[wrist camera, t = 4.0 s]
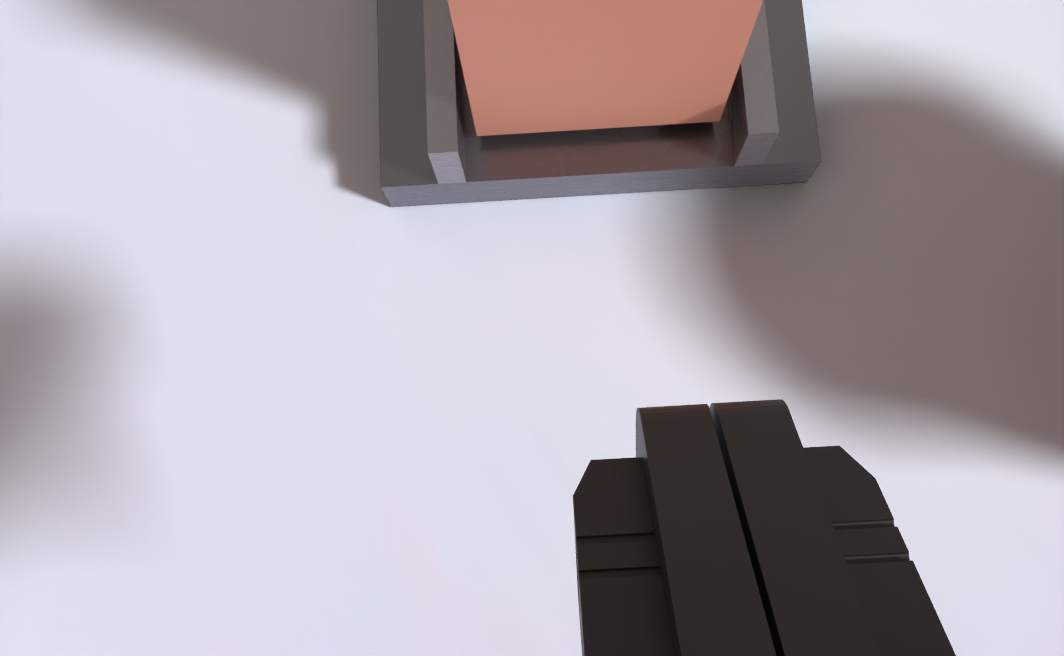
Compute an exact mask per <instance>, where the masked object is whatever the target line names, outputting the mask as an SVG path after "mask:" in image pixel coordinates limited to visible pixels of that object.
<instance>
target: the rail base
mask: <svg viewBox="0 0 1064 656" xmlns="http://www.w3.org/2000/svg"><path fill="white" fill-rule="evenodd" d="M377 16H378V66H379V116H380V166H381V189H382V190H383V192H384V194H385V196H386V198H387V200H388V202H389V204H390V206H391V207H401V206H418V205H434V204H451V203H468V202H485V201H502V200H518V199H535V198H552V197H569V196H586V195H602V194H619V193H636V192H653V191H670V190H686V189H703V188H720V187H737V186H753V185H770V184H787V183H804V182H807V181H808V180H809V178H810V177H811V175H812V174H813V172H814V171H815V169H816V168H817V166H818V165H819V163H820V162H821V158H820V150H819V142H818V133H817V125H816V116H815V108H814V100H813V91H812V83H811V74H810V66H809V58H808V49H807V41H806V33H805V24H804V16H803V7H802V0H763V2H762V5H761V8H760V11H759V14H758V16H757V19H756V22H755V25H754V27H753V30H752V33H751V36H750V38H749V41H748V44H747V47H746V49H745V52H744V55H743V58H742V61H741V63H740V66H739V69H738V72H737V74H736V77H735V80H734V83H733V85H732V88H731V91H730V94H729V96H728V99H727V102H726V105H725V108H724V110H723V113H722V116H721V119H720V121H718V122H702V123H685V124H669V125H653V126H636V127H620V128H603V129H587V130H570V131H554V132H538V133H521V134H505V135H488V136H477V134H476V130H475V125H474V120H473V116H472V111H471V107H470V102H469V97H468V93H467V88H466V84H465V79H464V74H463V70H462V65H461V60H460V56H459V51H458V47H457V42H456V37H455V33H454V28H453V23H452V19H451V14H450V10H449V5H448V0H377Z"/></svg>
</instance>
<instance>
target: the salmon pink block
mask: <svg viewBox="0 0 1064 656" xmlns="http://www.w3.org/2000/svg"><path fill="white" fill-rule="evenodd" d="M762 2H763V0H448V5H449V10H450V14H451V19H452V23H453V28H454V33H455V37H456V42H457V47H458V51H459V56H460V60H461V65H462V70H463V74H464V79H465V84H466V88H467V93H468V97H469V102H470V107H471V111H472V116H473V120H474V125H475V130H476V134H477V136H488V135H505V134H521V133H538V132H554V131H570V130H587V129H603V128H620V127H636V126H653V125H669V124H685V123H702V122H718V121H720V119H721V116H722V113H723V110H724V108H725V105H726V102H727V99H728V96H729V94H730V91H731V88H732V85H733V83H734V80H735V77H736V74H737V72H738V69H739V66H740V63H741V61H742V58H743V55H744V52H745V49H746V47H747V44H748V41H749V38H750V36H751V33H752V30H753V27H754V25H755V22H756V19H757V16H758V14H759V11H760V8H761V5H762Z"/></svg>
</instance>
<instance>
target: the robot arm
mask: <svg viewBox="0 0 1064 656" xmlns="http://www.w3.org/2000/svg"><path fill="white" fill-rule="evenodd" d="M573 505H574V524H575V543H576V563H577V582H578V601H579V615H580V630H581V643H582V656H956V655H955V653H954V651H953V648H952V646H951V644H950V642H949V640H948V637H947V635H946V633H945V631H944V629H943V626H942V624H941V622H940V620H939V618H938V615H937V613H936V611H935V609H934V607H933V604H932V602H931V600H930V598H929V596H928V593H927V591H926V589H925V587H924V584H923V582H922V580H921V578H920V576H919V573H918V571H917V569H916V567H915V565H914V562H913V561H910V559H909V551H908V549H907V547H906V545H905V543H904V540H903V538H902V536H901V534H900V532H899V529H898V527H895V526H894V518H893V516H892V514H891V512H890V509H889V507H888V505H887V503H886V501H885V498H884V496H883V494H882V492H881V490H880V487H879V485H878V483H877V481H876V479H875V478H874V477H873V476H872V475H871V474H870V473H869V472H868V471H867V470H865V469H864V468H863V467H862V466H861V465H860V464H859V463H858V462H857V461H856V460H854V459H853V458H852V457H851V456H850V455H849V454H848V453H847V452H846V451H845V450H844V449H842V448H841V447H840V446H826V447H809V448H803V446H802V444H801V441H800V438H799V436H798V433H797V430H796V428H795V425H794V422H793V420H792V417H791V414H790V412H789V409H788V407H787V405H786V403H785V402H784V401H783V400H763V401H746V402H728V403H712V404H711V405H710V408H709V406H708V405H707V404H699V405H681V406H664V407H647V408H637V411H636V458H620V459H602V460H591V461H590V463H589V465H588V467H587V469H586V471H585V473H584V475H583V477H582V479H581V481H580V483H579V485H578V487H577V489H576V491H575V493H574V495H573Z"/></svg>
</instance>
